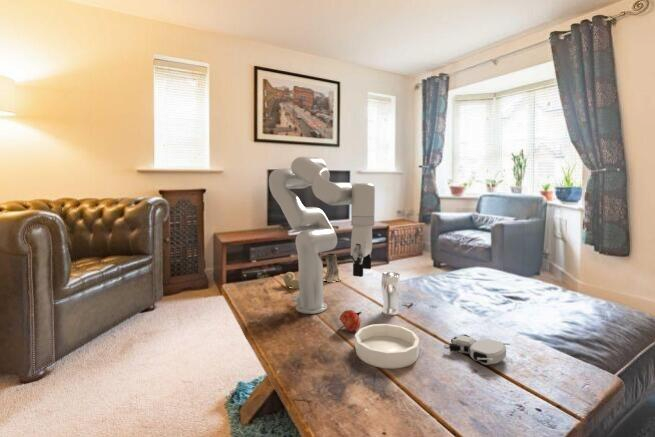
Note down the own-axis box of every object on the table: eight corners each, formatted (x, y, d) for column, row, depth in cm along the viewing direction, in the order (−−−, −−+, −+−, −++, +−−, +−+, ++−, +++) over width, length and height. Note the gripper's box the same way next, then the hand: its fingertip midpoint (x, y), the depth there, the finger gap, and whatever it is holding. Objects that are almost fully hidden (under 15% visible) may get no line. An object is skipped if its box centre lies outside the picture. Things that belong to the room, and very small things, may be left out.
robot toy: (441, 356, 96) (495, 374, 84) (440, 341, 95) (494, 357, 84) (461, 342, 104) (512, 357, 93) (460, 328, 104) (512, 341, 92)
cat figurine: (293, 279, 151) (280, 267, 159) (288, 293, 151) (274, 280, 160) (306, 280, 156) (293, 269, 165) (301, 294, 157) (287, 281, 166)
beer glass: (399, 316, 122) (400, 277, 121) (380, 315, 124) (381, 276, 122) (399, 309, 129) (400, 272, 128) (381, 308, 130) (381, 271, 129)
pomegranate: (342, 342, 107) (367, 325, 106) (329, 323, 108) (353, 306, 107) (345, 334, 115) (368, 318, 113) (333, 317, 116) (355, 301, 114)
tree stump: (326, 283, 164) (326, 257, 162) (319, 278, 173) (319, 253, 171) (344, 281, 167) (344, 255, 166) (337, 276, 176) (337, 252, 175)
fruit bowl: (347, 360, 92) (346, 344, 92) (366, 333, 109) (366, 320, 108) (412, 374, 85) (412, 358, 84) (422, 343, 101) (422, 329, 101)
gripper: (359, 218, 117) (359, 265, 119) (343, 223, 101) (343, 278, 103) (380, 218, 114) (379, 267, 116) (366, 225, 98) (366, 280, 100)
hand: (362, 272), depth 109 cm, fingers open, 9 cm apart
